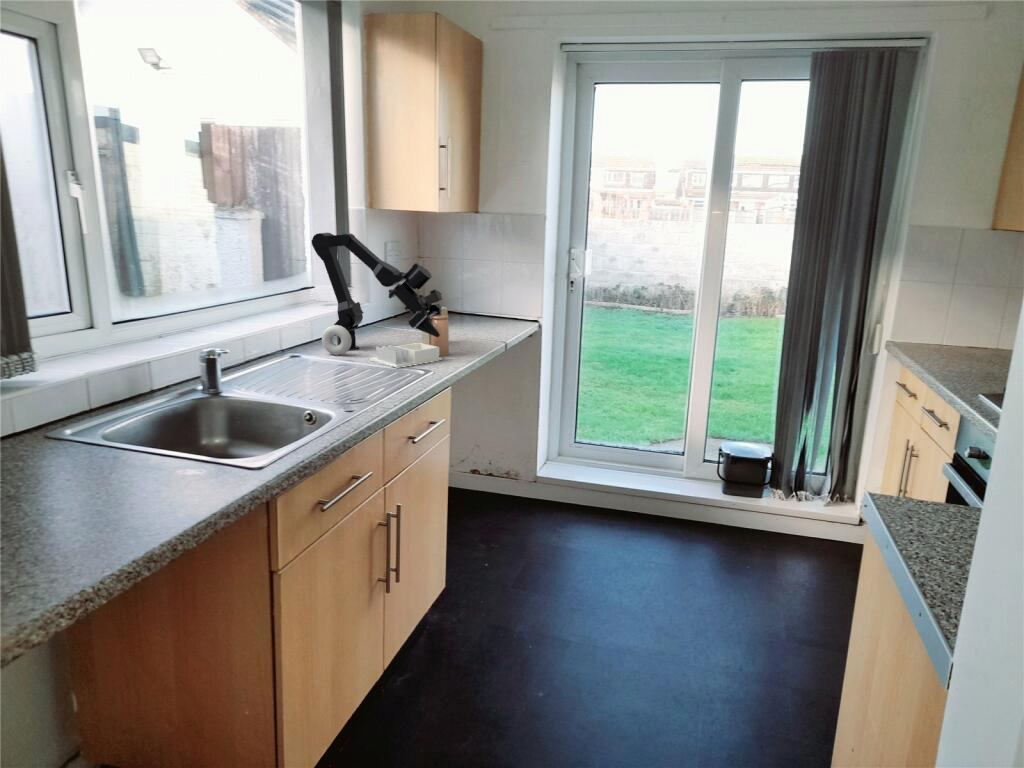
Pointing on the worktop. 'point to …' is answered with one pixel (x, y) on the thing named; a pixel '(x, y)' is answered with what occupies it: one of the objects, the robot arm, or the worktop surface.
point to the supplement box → (428, 337)
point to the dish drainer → (407, 354)
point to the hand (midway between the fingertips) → (443, 333)
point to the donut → (343, 336)
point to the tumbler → (441, 333)
